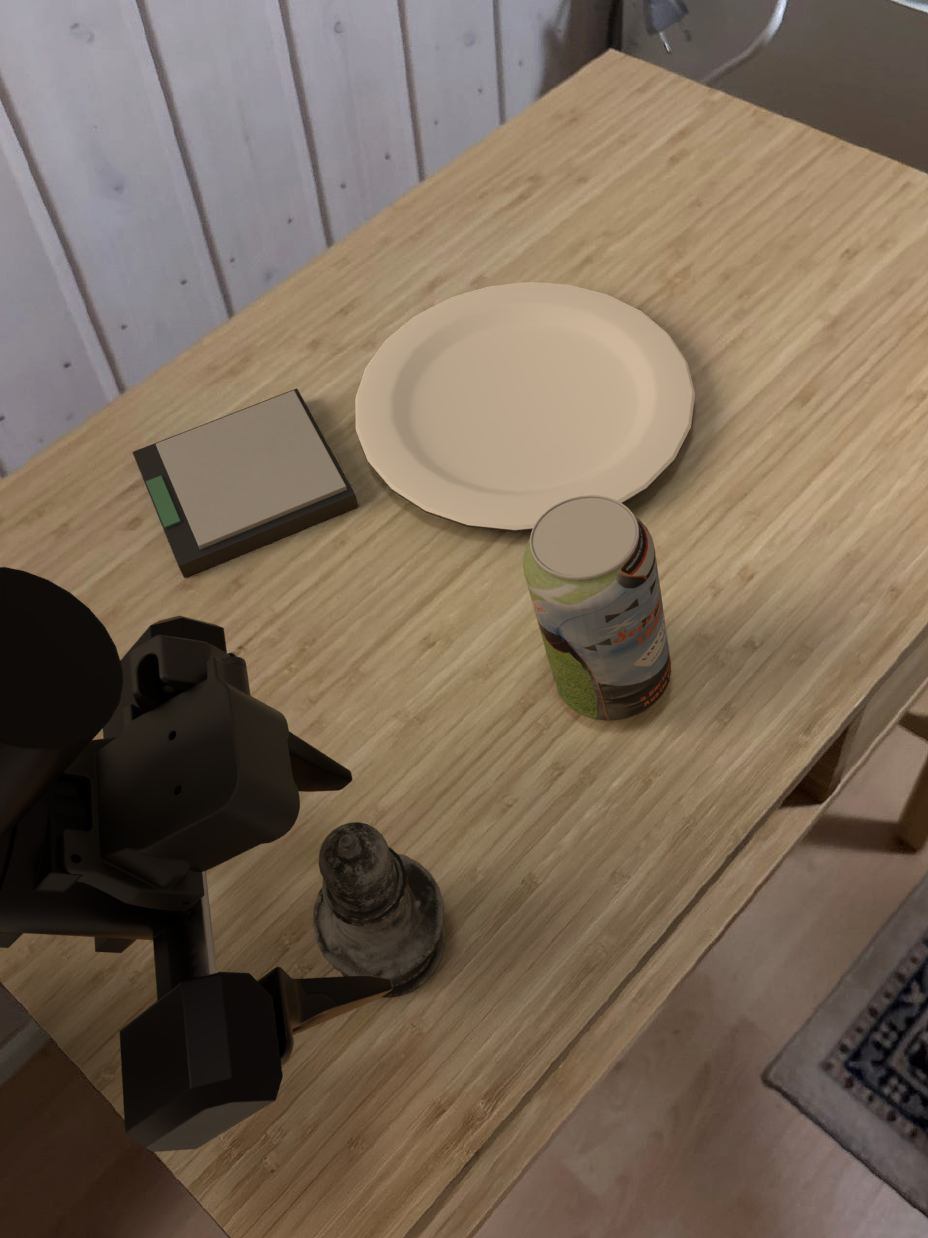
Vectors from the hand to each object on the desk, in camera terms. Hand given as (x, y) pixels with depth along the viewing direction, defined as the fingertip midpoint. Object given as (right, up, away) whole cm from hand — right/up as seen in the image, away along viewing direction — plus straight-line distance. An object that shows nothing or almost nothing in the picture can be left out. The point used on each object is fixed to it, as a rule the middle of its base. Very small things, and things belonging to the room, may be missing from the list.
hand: (365, 879), depth 47 cm
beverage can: (+11, +8, +13) cm, 19 cm away
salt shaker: (+1, -4, +7) cm, 8 cm away
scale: (-9, +19, +23) cm, 31 cm away
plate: (+8, +23, +24) cm, 35 cm away
